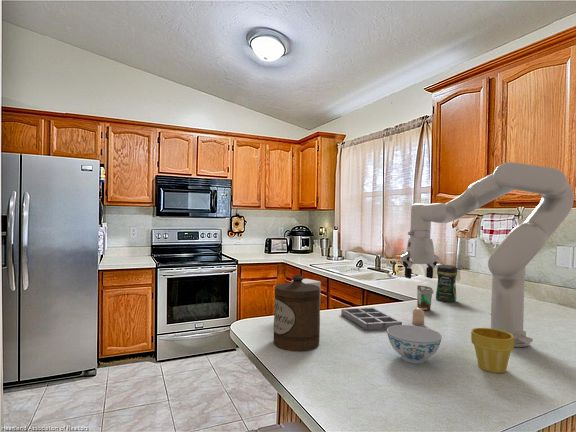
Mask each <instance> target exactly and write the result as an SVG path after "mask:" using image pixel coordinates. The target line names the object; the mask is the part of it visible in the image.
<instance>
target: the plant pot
mask: <svg viewBox="0 0 576 432" xmlns="http://www.w3.org/2000/svg"><path fill="white" fill-rule="evenodd" d="M470 333H471V335H470V337H471V338H470V339H471V343H472V344H473V345H474V350H475V355H476V359H477V364H478V367H479V368H480V369H481V370H483V371H486V372H490V373H494V374H502V373H505V372H506V371H507V369H508V364H509V361H510V356H511V353H512V351H513V350H514V348H515V347H514V336H513V335H512V334H510V333H508V332H505V331H502V330H497V329H491V327H490V328H489V327H475V328H473V329H471V332H470Z"/></svg>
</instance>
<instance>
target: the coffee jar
mask: <svg viewBox="0 0 576 432" xmlns="http://www.w3.org/2000/svg"><path fill="white" fill-rule="evenodd" d="M436 267H437V268H436V275H437V284H436V292H435V299H436V300H437V301H440V302H445V303H446V302H447V303H455V302H456V301H457V287H456V286H457V285H456V284H457V283H456V280H457V279H456V278H457V276H458V270H457V269H458V268H457V266H455V265H451V264H450V265H449V264H438V265H437V266H436Z"/></svg>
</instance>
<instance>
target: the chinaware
mask: <svg viewBox="0 0 576 432" xmlns="http://www.w3.org/2000/svg"><path fill="white" fill-rule="evenodd" d="M386 331H387V332H386V334H387V337H388V341H389V343H390V345H391V346H392V348H393V350H395V352H396V353H397V354H398V355H400V359H402V360H403V361H404V362H407V363H409V364H424V363H425V362H426V360H427V359H430V358H431V357H432V356H434V354H435V353H437V351H438V349H439V347H440V345H441V342H442V339H443V337H442V336H443V335H441V333H439V332H438V331H436V330H433V329H431V328H427V327H423V326H420V325H412V324H410V325H409V324H402V325H396V326H391V327H389V328H388V329H387V330H386Z"/></svg>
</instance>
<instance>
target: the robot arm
mask: <svg viewBox="0 0 576 432" xmlns="http://www.w3.org/2000/svg"><path fill="white" fill-rule="evenodd" d="M515 190H516V191H520V192H521V191H522V192H526V193H533V194H538V195H540V196H541V199H540V201H539V203H538V205H537V206H535V208H534V209H533V210H532V212H531V214H529V215H528V217H527V218H526V219H525V220H524V221H523V222H522V223H520V224H518V225H516V226H514V228H513V229H512V230H510V232H508V234H507V236H506V237H505V238H504V239H503V240H502V241H501V242H500V244H499V245H498V246H497V247H496V249H495V250H494V251H493V252H492V254H490V256H489V258H488V261H487V268H488V271H489V272H490V273H491V274H492V277H491V303H490V304H491V306H490V307H491V310H490V312H491V313H490V328H491V329H497V330H502V331H505V332H508V333H510V334H512V335H513V336H514V348H523V347H524V348H525V347H528V346H529V345H531V343H532V342H533V340H534V339H533V338H531V337H529V336H527V331H524V321H525V320H524V319H525V318H524V315H525V314H524V313H525V312H524V311H525V309H524V308H525V284H526V283H525V279H526V268H527V267H526V266H528V265H529V263H530V262H531V261H532V260H533V259H534V258H535V256H536V255H537V254H538V253H540V251H541V250H542V249H543V248H544V247H545V245H546V243H547V241H548V240H549V239H550V238H551V236H552V235H553V234H554V233H555V232H556V231H557V230H558V228H559V227H560V225H562V223H563V222H564V221H565V220H566V218H567V217H568V216H569V214H570V213H571V211H572V209H573V206H574V199H575V198H574V192H573V191H574V190H573V189H572V186H571V185H570V183H569V181H568V178H567V176H566V174H565V173H564V172H563V171H561V170H560V169H558V168H554V167H547V166H541V165H534V164H533V165H532V164H526V163H519V162H514V161H513V162H512V161H511V162H509V161H508V162H504V163H501V164H499V165H498V166H497V167H496V168H495V169H494V171H493V172H492V173H491V174H488V175H487V176H484V177H482V178H481V179H479V180H477V181H475V182H473V183H471V184H470V185H469V186H468V187H467V188H466V190H465V191H464V192H462V194H460V195H458V196H457V197H455V198H453V199H452V200H449V201H448V202H445V203H442V202H435V203H430V204H429V203H413V204H412V205H411V207H410V229H409V231H408V232H407V235H409V236H410V237H409V238H408V241H407V245H406V251H405V253H404V254H402V255H400V256H399V260H400V263H401V264H402V266H403V268H404V276H405V279H412V268H411V267H413V265H415V264H416V265H426V266H427V267H426V273H425V277H426V278H429V279H433V278H434V277H433V276H434V269H435V268H436V266H437V264H438V262H439V260H440V257H439V256H438V255H436V254H435V249H434V248H435V247H434V242H433V238H431V231H432V230H431V227H432V223H437V224H438V223H439V224H448V223H451V222H453V221H456V220H458V219H460V218H462V217H464V216H466V215H468V214H470V213H472V212H473V211H475V210H478V209H479V208H481V207H483V206H485V205H486V204H489V203H491V202H493V201H494V200H496V199H498V198H500V197H502V196H505V195H506V194H509V193H510V192H513V191H515Z"/></svg>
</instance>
